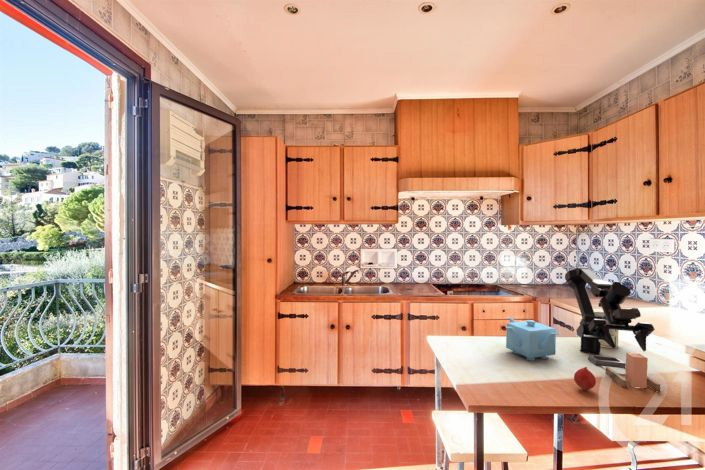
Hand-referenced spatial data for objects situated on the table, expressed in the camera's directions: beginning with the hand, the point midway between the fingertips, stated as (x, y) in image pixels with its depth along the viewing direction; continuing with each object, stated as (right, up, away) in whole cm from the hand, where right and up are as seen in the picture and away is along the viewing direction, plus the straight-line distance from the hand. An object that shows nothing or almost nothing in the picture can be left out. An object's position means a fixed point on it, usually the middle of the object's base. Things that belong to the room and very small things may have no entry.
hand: (629, 349), depth 112 cm
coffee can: (+20, -11, +37) cm, 43 cm away
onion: (-22, -11, -8) cm, 26 cm away
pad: (+2, -11, +7) cm, 13 cm away
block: (-1, -11, -4) cm, 12 cm away
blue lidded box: (-24, -10, +21) cm, 34 cm away
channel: (-1, -11, -1) cm, 11 cm away
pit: (+3, -11, +14) cm, 18 cm away
